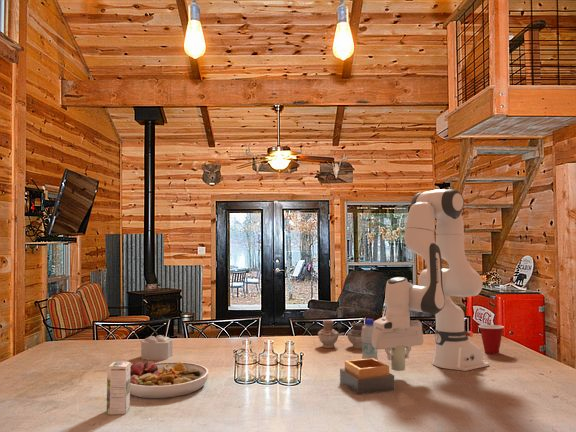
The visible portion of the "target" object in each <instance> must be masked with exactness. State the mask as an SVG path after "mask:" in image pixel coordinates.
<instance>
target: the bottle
mask: <svg viewBox="0 0 576 432" xmlns="http://www.w3.org/2000/svg"><path fill="white" fill-rule="evenodd" d="M374 321H375V320H374V319H373V318H366V319H365V323H364V324H365V326H363V327H362V333H361V336H362V337H361V339H362V348H361V354H362V355H361V359H369V358H374V359H376V360H378V361H379V355H378V349H375V348H374V347H373V346H372V332H373V329H374V328H375V326H374V325H373V322H374Z"/></svg>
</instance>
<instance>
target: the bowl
mask: <svg viewBox="0 0 576 432" xmlns="http://www.w3.org/2000/svg"><path fill="white" fill-rule="evenodd" d="M208 377H209V369H208V368H207V367H205V366H204V365H201V364H197V363H194V362H193V363H191V362H185V361H168V362H165V361H164V362H156V363H155V362H154V361H153V360H147V361H146V362H145V363H143V362H142V361H136V362H134V363H131V364H130V395H132V396H135V397H139V398H144V399H145V398H146V399H169V397H170V398H177V397H180V396H181V395H182V396H185V394H186V395H188V394H191V393H193V392H196V391H198V390H200V389H201V388H203V386H204V385H205V384H206V382H207V381H208ZM176 396H177V397H176ZM182 396H181V397H182Z"/></svg>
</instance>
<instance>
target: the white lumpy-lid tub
mask: <svg viewBox="0 0 576 432" xmlns="http://www.w3.org/2000/svg"><path fill="white" fill-rule="evenodd" d="M173 344H174V343H173V338H170V337H168V336H163V335H161V334H159V335H155V336H154V335H150V336H148V337H145V338H144V339H142V340H140V357H141V359H142V360H147V361H165V359H166V360H168V358H169V359H170V358H171V357H172V356H173Z"/></svg>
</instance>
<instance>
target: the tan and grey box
mask: <svg viewBox="0 0 576 432" xmlns="http://www.w3.org/2000/svg"><path fill="white" fill-rule="evenodd" d="M339 383H340V384H341V385H343V386H345V387H346V388H348V390H350V391H352V392H353V393H355V395H365V394H366V395H367V394H373V393H374V394H375V393H382V392H391V391H395V375H394V374H392V373H391V372H390V365H387V364H385V363H383V362H382V361H380V360H379V359H378V360H376V359H374V358H369V359H362V358H361V359H350V360H344V367H343V368H339Z"/></svg>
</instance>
